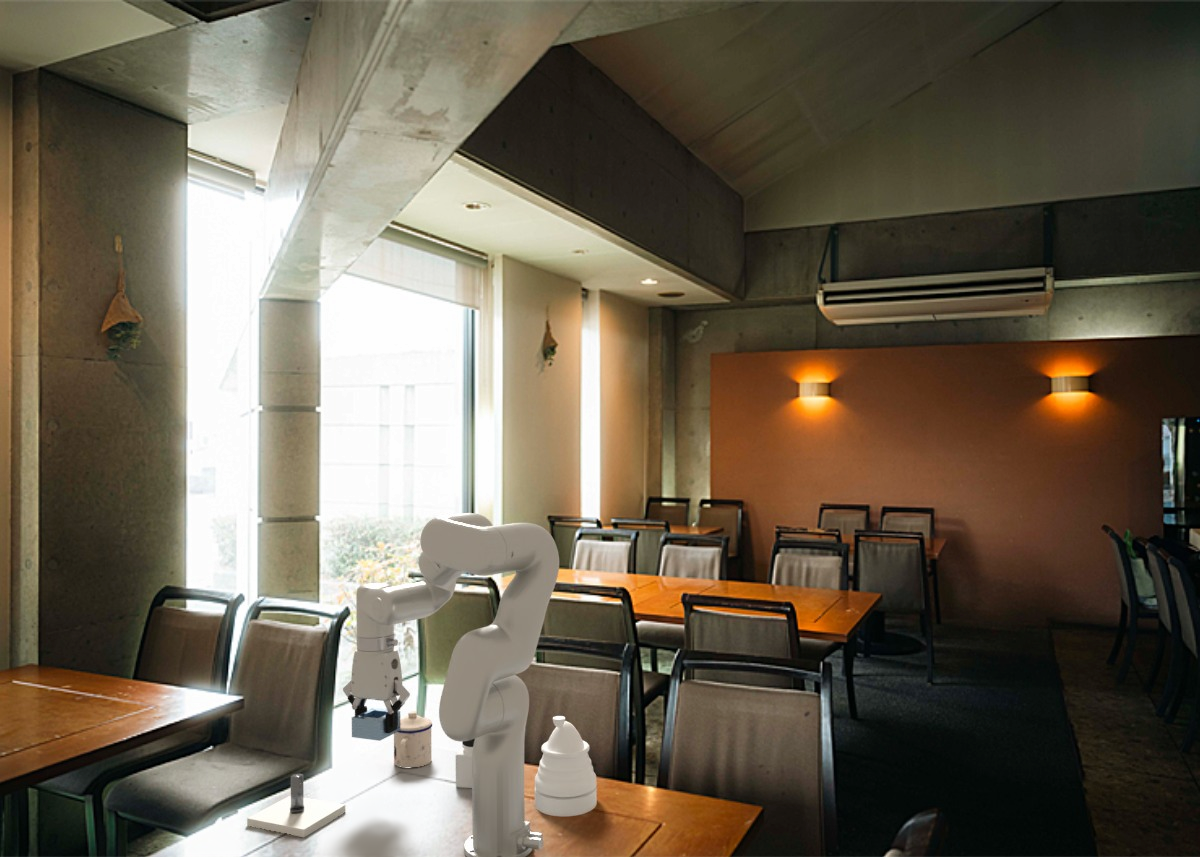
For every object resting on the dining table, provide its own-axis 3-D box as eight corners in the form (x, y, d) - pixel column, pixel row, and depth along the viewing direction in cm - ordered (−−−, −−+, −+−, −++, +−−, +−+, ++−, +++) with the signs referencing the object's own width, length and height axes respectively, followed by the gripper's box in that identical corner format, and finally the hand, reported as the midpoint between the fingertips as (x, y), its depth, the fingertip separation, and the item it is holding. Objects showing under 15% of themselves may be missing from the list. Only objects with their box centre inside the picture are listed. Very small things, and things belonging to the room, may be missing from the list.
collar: (400, 730, 178) (400, 711, 179) (379, 740, 172) (379, 720, 172) (373, 726, 181) (372, 707, 181) (351, 737, 175) (351, 717, 175)
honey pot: (570, 822, 166) (569, 729, 167) (521, 806, 174) (521, 717, 175) (609, 800, 177) (608, 713, 177) (561, 786, 184) (561, 702, 185)
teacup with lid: (400, 754, 204) (400, 706, 205) (437, 755, 203) (437, 706, 204) (382, 773, 193) (382, 721, 193) (421, 774, 192) (421, 722, 192)
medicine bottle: (486, 789, 183) (486, 733, 183) (455, 787, 184) (454, 731, 184) (497, 777, 190) (496, 723, 190) (466, 775, 191) (466, 721, 191)
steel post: (307, 809, 170) (307, 774, 170) (297, 815, 167) (297, 779, 167) (296, 807, 171) (296, 772, 171) (286, 813, 168) (286, 777, 168)
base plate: (345, 812, 172) (345, 804, 172) (303, 837, 161) (303, 829, 161) (291, 802, 177) (291, 794, 177) (247, 825, 166) (247, 818, 166)
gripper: (420, 642, 177) (421, 728, 177) (353, 637, 184) (353, 719, 183) (399, 650, 170) (400, 739, 170) (329, 644, 177) (330, 730, 176)
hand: (376, 728), depth 177 cm, fingers closed on collar, 7 cm apart
